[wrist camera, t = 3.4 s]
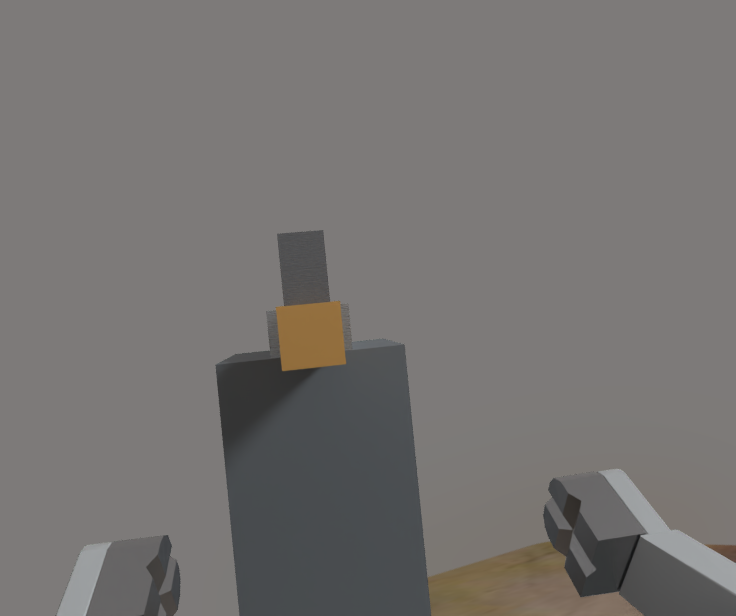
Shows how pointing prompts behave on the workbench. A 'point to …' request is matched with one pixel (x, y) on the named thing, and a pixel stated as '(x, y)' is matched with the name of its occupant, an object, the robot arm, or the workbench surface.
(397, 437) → the stand
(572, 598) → the workbench surface
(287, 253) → the bar
